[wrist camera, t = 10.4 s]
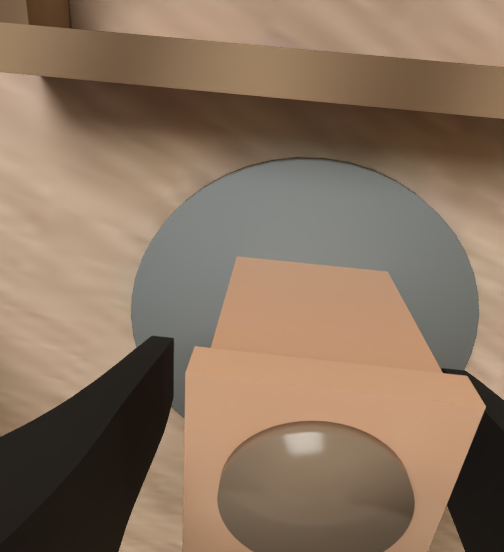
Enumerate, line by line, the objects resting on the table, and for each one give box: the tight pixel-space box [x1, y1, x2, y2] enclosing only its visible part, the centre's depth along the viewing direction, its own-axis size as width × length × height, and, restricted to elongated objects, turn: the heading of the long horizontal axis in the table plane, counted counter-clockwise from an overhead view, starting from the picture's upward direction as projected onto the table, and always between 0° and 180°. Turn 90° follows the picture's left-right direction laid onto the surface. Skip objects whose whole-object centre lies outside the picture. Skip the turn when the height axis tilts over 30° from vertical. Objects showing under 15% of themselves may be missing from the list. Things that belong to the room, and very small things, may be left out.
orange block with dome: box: [182, 256, 486, 552], centre depth 11 cm, size 5×5×6 cm
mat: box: [131, 157, 479, 418], centre depth 14 cm, size 11×11×1 cm
